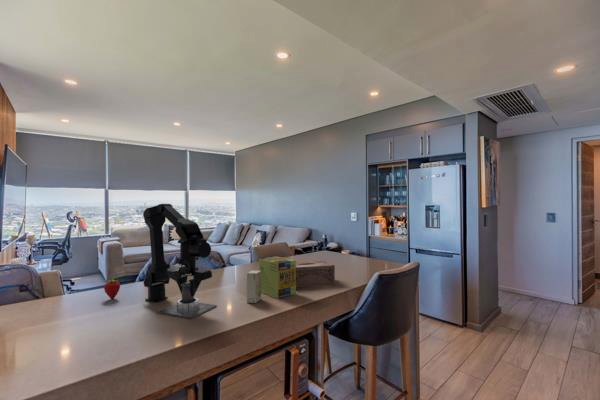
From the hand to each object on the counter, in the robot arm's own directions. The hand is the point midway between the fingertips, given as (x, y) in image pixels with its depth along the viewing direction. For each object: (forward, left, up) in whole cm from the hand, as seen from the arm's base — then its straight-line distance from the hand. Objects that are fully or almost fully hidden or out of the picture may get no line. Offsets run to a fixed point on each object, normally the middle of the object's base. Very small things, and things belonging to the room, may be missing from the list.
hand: (187, 295), depth 113 cm
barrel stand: (0, 0, -5) cm, 5 cm away
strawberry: (-40, -2, -6) cm, 40 cm away
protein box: (+22, +33, -6) cm, 40 cm away
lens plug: (0, 0, -3) cm, 3 cm away
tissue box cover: (+28, +55, -6) cm, 62 cm away
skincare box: (+18, +19, -6) cm, 27 cm away
